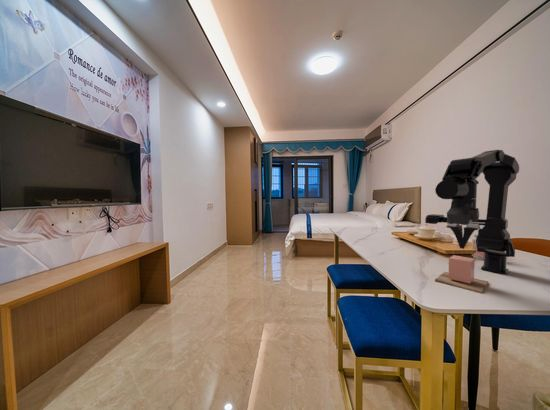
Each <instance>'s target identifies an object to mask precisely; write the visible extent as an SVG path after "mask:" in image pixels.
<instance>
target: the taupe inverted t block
mask: <svg viewBox="0 0 550 410" xmlns="http://www.w3.org/2000/svg"><path fill="white" fill-rule="evenodd" d="M448 277H449V271H448V272H447V271H444V272H443V273H441V274H440V275H439V276H438V277H435V278H434V282H437V283H442V284H445V285H449V286H451V287H452V286H453V287H456V288H461V289H464V290H468V291H473V292H476V293H480V294H482V293H483V292H484V291H485V289H486V288H487V286H488V285H489V281H488V280H483V279H479V278H475V277H474V280H473V281H472V282H471V283H470V284H469V283H465V282H461V281H457V280H453V279H449V278H448Z"/></svg>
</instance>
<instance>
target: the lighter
mask: <svg viewBox="0 0 550 410" xmlns="http://www.w3.org/2000/svg"><path fill="white" fill-rule="evenodd" d="M477 236H478V234H475V235H474V238H477ZM471 241H472V250H473V249H475V250H476V253H474V254H472V253H471V257H472V256H473V257H472V258H473V259H477V260H480V261H483V262H484V252H478V251H477V245H476V239H472V240H471Z"/></svg>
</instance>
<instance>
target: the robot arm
mask: <svg viewBox="0 0 550 410" xmlns="http://www.w3.org/2000/svg"><path fill="white" fill-rule="evenodd" d="M519 172H520V165H519V162H518V160H517V159H516V158H515V157H514V156H511V155H509V154H506V153H505V152H504V150H503V149H494V150H485V151H483V152H481V153H480V154H477V155H474V156H472V157H466V158H458V159H453V160H451V161H450V162H449V164H448V166H447V168H446V170H445V172H444V174H443V176H442V179H441V180H442V181H439V183H437V185H436V186H435V188H434V189H435V194H436V195H437V197H438V198H441V199H442V200H451V203H450V208H449V210H448V211H447V212H446V216H445V215H444V214H434V213H433V214H431V213H430V214H427V215H426V216H425V220H424V221H425V224H430V225H431V224H432V225H437V224H439V223H441V224H442V223H446V228H447V229H450V230H451V231H452V232H453V234H454V236H455V239H456V241H457V244H458V246H459V248H460V249H465V248H466V246H467V244H468V242H469V240H470V238H471V236H472V234H474V232H475V231H477V235H478V236H477V238H476V239H475V240H476V245H477V251H478V252H484V261H483V265H482V266H481V267H480V270H483V271H487V272H493V273H498V274H503V275H508V272H509V268H507V259H508V258H510V257H511V258H515V257H516V249H515V246H514V243H513V242H512V240H511V235H510V233H509V231H508V230H507V229H508V227H509V220H508V219H507V218H506V213H507V201H508V192H509V187H510V185H512V183H514V181H515V180H516V179H517V174H518V173H519ZM481 174H483V175H484V180H485V181H486V183H487V185H489V189H488V197H487V198H488V200H487V208H486V209H487V210H486V218H485V219H483V218H482V219H481V218H480V211H479V208H477V192H478V191H477V190H478V187H477V186H478V184H479V181H478V178H479V177H480V175H481ZM463 226H465V227H463ZM481 226H483V227H482V228H481Z"/></svg>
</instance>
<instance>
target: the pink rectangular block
mask: <svg viewBox="0 0 550 410" xmlns="http://www.w3.org/2000/svg"><path fill="white" fill-rule="evenodd" d="M475 262H476V258H474V257H472V258H471V257H467V256H466V257H465V256H460V255H455V254H453V255H452V256H450V257H448V273H449V277H448V278H449V279H453V280H457V281H461V282H465V283H469V284H470V283H471V282H472V281H473V280H474V278H475V264H476V263H475Z"/></svg>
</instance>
